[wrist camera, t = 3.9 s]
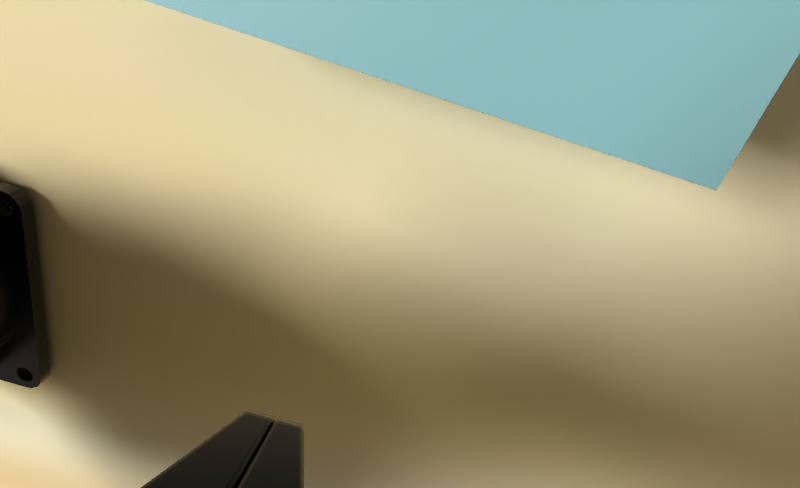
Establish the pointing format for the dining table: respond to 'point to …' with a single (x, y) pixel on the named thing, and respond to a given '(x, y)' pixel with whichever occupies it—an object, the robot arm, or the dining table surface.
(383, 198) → the dining table surface
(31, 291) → the robot arm
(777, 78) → the teal block
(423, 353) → the dining table surface
